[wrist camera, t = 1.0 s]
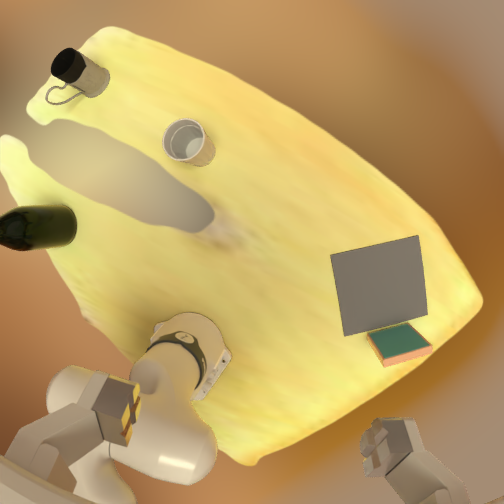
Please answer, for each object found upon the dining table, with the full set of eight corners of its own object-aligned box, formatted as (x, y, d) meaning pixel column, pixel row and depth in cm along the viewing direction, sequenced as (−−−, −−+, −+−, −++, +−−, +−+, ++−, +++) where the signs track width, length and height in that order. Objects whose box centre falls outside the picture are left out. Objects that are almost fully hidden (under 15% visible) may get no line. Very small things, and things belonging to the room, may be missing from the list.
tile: (408, 329, 64) (432, 352, 50) (367, 340, 65) (383, 367, 51) (407, 322, 64) (432, 344, 50) (366, 333, 65) (383, 359, 51)
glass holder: (116, 73, 65) (84, 50, 50) (85, 120, 67) (48, 105, 52) (95, 64, 65) (64, 42, 50) (66, 108, 67) (31, 93, 53)
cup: (222, 136, 64) (208, 119, 52) (215, 172, 65) (200, 162, 53) (186, 132, 65) (167, 117, 53) (180, 168, 66) (158, 158, 54)
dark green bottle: (66, 196, 70) (-36, 192, 37) (84, 230, 70) (-20, 240, 37) (44, 221, 71) (-54, 228, 39) (60, 254, 71) (-39, 274, 39)
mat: (427, 314, 63) (427, 314, 62) (344, 335, 65) (344, 336, 65) (417, 235, 61) (418, 235, 61) (330, 255, 64) (330, 255, 64)
